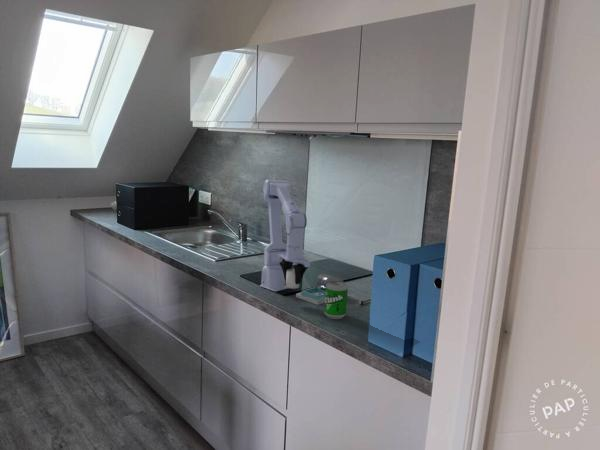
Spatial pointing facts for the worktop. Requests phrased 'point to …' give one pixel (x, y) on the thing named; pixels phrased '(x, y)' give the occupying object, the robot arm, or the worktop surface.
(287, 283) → the grey rounded piece
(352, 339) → the worktop surface
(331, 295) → the soda can
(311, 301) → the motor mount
